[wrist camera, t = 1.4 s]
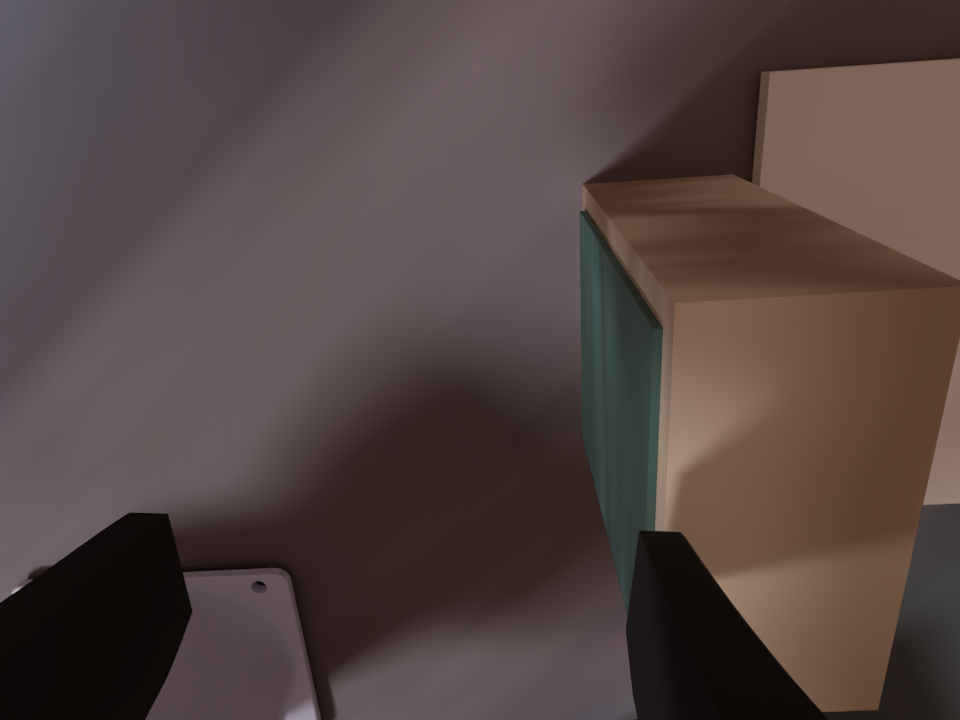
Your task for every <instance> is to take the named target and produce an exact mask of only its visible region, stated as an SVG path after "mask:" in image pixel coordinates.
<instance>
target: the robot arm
mask: <svg viewBox="0 0 960 720" xmlns="http://www.w3.org/2000/svg"><path fill="white" fill-rule="evenodd" d="M256 581H260V582H263V583H264V584H265V585H264V586H263V585H259V584H257V583H256ZM626 634H627V644H628V654H629V664H630V673H631V682H632V690H633V698H634V703H635V707H636V712H637V717H638V720H829V719H828V718H827V717H826V716H825V715H824V714H823V713H822V711H821V710H820V709H819V708H818V707H817V706H816V705H815V704H814V702H813V701H812V700H811V699H810V698H809V697H808V696H807V694H806V693H805V692H804V691H803V690H802V689H801V688H800V687H799V685H798V684H797V683H796V682H795V681H794V680H793V679H792V677H791V676H790V675H789V674H788V673H787V671H786V670H785V669H784V668H783V667H782V665H781V664H780V663H779V662H778V661H777V659H776V658H775V657H774V656H773V655H772V653H771V652H770V651H769V650H768V648H767V647H766V646H765V644H764V643H763V642H762V641H761V639H760V638H759V637H758V636H757V634H756V633H755V632H754V631H753V629H752V628H751V627H750V626H749V624H748V623H747V622H746V621H745V619H744V618H743V617H742V615H741V614H740V613H739V611H738V610H737V609H736V607H735V606H734V605H733V603H732V602H731V601H730V599H729V598H728V597H727V595H726V594H725V593H724V591H723V590H722V588H721V587H720V586H719V584H718V583H717V582H716V580H715V579H714V577H713V576H712V575H711V573H710V572H709V570H708V569H707V568H706V566H705V565H704V563H703V562H702V560H701V559H700V557H699V556H698V555H697V553H696V552H695V550H694V549H693V547H692V546H691V544H690V543H689V541H688V540H687V538H686V537H685V536H684V535H683V534H682V533H681V532H669V531H641V530H639V534H638V541H637V549H636V556H635V564H634V572H633V579H632V587H631V595H630V602H629V610H628V617H627V625H626ZM0 720H321V716H320V711H319V707H318V702H317V697H316V693H315V688H314V683H313V679H312V674H311V669H310V665H309V660H308V655H307V651H306V646H305V641H304V637H303V632H302V628H301V623H300V618H299V614H298V609H297V604H296V600H295V595H294V590H293V586H292V581H291V578H290V576H289V574H288V573H287V572H286V571H284V570H282V569H280V568H260V569H239V570H218V571H198V572H183V571H182V567H181V563H180V560H179V556H178V552H177V548H176V544H175V540H174V536H173V532H172V528H171V524H170V520H169V516H168V514H156V513H128V514H127V515H125V516H124V517H122V518H120V519H119V520H117V521H116V522H114V523H113V524H111V525H110V526H108V527H107V528H105V529H104V530H103V531H101V532H100V533H98V534H97V535H95V536H94V537H93V538H91V539H90V540H88V541H87V542H85V543H84V544H83V545H81V546H80V547H78V548H77V549H76V550H74V551H73V552H71V553H70V554H69V555H67V556H66V557H64V558H63V559H62V560H60V561H59V562H57V563H56V564H55V565H53V566H52V567H50V568H49V569H48V570H46V571H45V572H43V573H42V574H41V575H39V576H38V577H36V578H35V579H32V580H24V581H21V582H20V583H18V585H17V586H16V587H15V588H14V589H13V591H12V593H11V596H9V597H8V598H6V599H5V600H4V601H2V602H1V603H0Z"/></svg>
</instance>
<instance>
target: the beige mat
mask: <svg viewBox="0 0 960 720" xmlns="http://www.w3.org/2000/svg"><path fill="white" fill-rule="evenodd" d="M752 183H753V184H755V185H757V186H759V187H761V188H763V189H765V190H768V191H770V192H772V193H774V194H776V195H778V196H780V197H783V198H785V199H787V200H789V201H791V202H793V203H795V204H798V205H800V206H802V207H804V208H806V209H808V210H810V211H813V212H815V213H817V214H819V215H821V216H823V217H825V218H828V219H830V220H832V221H834V222H836V223H838V224H840V225H842V226H845V227H847V228H849V229H851V230H853V231H855V232H857V233H860V234H862V235H864V236H866V237H868V238H870V239H872V240H875V241H877V242H879V243H881V244H883V245H885V246H887V247H890V248H892V249H894V250H896V251H898V252H900V253H902V254H904V255H907V256H909V257H911V258H913V259H915V260H917V261H919V262H922V263H924V264H926V265H928V266H930V267H932V268H934V269H937V270H939V271H941V272H943V273H945V274H947V275H949V276H952V277H954V278H956V279H958V280H960V58H955V59H940V60H926V61H911V62H897V63H883V64H868V65H854V66H839V67H825V68H811V69H796V70H782V71H767V72H761V81H760V92H759V104H758V116H757V127H756V139H755V150H754V162H753V174H752ZM955 503H960V339H959V343H958V348H957V352H956V357H955V361H954V366H953V370H952V375H951V380H950V384H949V389H948V393H947V398H946V402H945V407H944V411H943V416H942V421H941V425H940V430H939V434H938V439H937V443H936V448H935V452H934V457H933V462H932V466H931V471H930V475H929V480H928V484H927V489H926V493H925V498H924V503H923V505H935V504H955Z"/></svg>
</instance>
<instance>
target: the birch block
mask: <svg viewBox="0 0 960 720" xmlns="http://www.w3.org/2000/svg"><path fill="white" fill-rule="evenodd" d="M580 271H581V383H582V438H583V442H584V446H585V450H586V454H587V458H588V462H589V466H590V469H591V473H592V477H593V481H594V485H595V489H596V493H597V497H598V501H599V505H600V509H601V512H602V516H603V520H604V524H605V528H606V532H607V536H608V540H609V544H610V548H611V552H612V556H613V559H614V563H615V567H616V571H617V575H618V579H619V583H620V587H621V591H622V595H623V599H624V602H625V606H626V610H627V614H628V610H629V602H630V595H631V587H632V579H633V572H634V564H635V556H636V549H637V541H638V534H639V530H641V531H669V532H681V533H682V534H683V535H684V536H685V537H686V538H687V540H688V541H689V543H690V544H691V546H692V547H693V549H694V550H695V552H696V553H697V555H698V556H699V557H700V559H701V560H702V562H703V563H704V565H705V566H706V568H707V569H708V570H709V572H710V573H711V575H712V576H713V577H714V579H715V580H716V582H717V583H718V584H719V586H720V587H721V588H722V590H723V591H724V593H725V594H726V595H727V597H728V598H729V599H730V601H731V602H732V603H733V605H734V606H735V607H736V609H737V610H738V611H739V613H740V614H741V615H742V617H743V618H744V619H745V621H746V622H747V623H748V624H749V626H750V627H751V628H752V629H753V631H754V632H755V633H756V634H757V636H758V637H759V638H760V639H761V641H762V642H763V643H764V644H765V646H766V647H767V648H768V650H769V651H770V652H771V653H772V655H773V656H774V657H775V658H776V659H777V661H778V662H779V663H780V664H781V665H782V667H783V668H784V669H785V670H786V671H787V673H788V674H789V675H790V676H791V677H792V679H793V680H794V681H795V682H796V683H797V684H798V685H799V687H800V688H801V689H802V690H803V691H804V692H805V693H806V694H807V696H808V697H809V698H810V699H811V700H812V701H813V702H814V704H815V705H816V706H817V707H818V708H819V709H820V710H821V711H822V712H836V711H861V710H878V708H879V703H880V698H881V694H882V689H883V685H884V680H885V676H886V671H887V667H888V662H889V657H890V653H891V648H892V644H893V639H894V635H895V630H896V626H897V621H898V616H899V612H900V607H901V603H902V598H903V594H904V589H905V585H906V580H907V575H908V571H909V566H910V562H911V557H912V553H913V548H914V544H915V539H916V534H917V530H918V525H919V521H920V516H921V512H922V507H923V503H924V498H925V493H926V489H927V484H928V480H929V475H930V471H931V466H932V462H933V457H934V452H935V448H936V443H937V439H938V434H939V430H940V425H941V421H942V416H943V411H944V407H945V402H946V398H947V393H948V389H949V384H950V380H951V375H952V370H953V366H954V361H955V357H956V352H957V348H958V343H959V339H960V280H958V279H956V278H954V277H952V276H949V275H947V274H945V273H943V272H941V271H939V270H937V269H934V268H932V267H930V266H928V265H926V264H924V263H922V262H919V261H917V260H915V259H913V258H911V257H909V256H907V255H904V254H902V253H900V252H898V251H896V250H894V249H892V248H890V247H887V246H885V245H883V244H881V243H879V242H877V241H875V240H872V239H870V238H868V237H866V236H864V235H862V234H860V233H857V232H855V231H853V230H851V229H849V228H847V227H845V226H842V225H840V224H838V223H836V222H834V221H832V220H830V219H828V218H825V217H823V216H821V215H819V214H817V213H815V212H813V211H810V210H808V209H806V208H804V207H802V206H800V205H798V204H795V203H793V202H791V201H789V200H787V199H785V198H783V197H780V196H778V195H776V194H774V193H772V192H770V191H768V190H765V189H763V188H761V187H759V186H757V185H755V184H753V183H751V182H748V181H746V180H744V179H742V178H740V177H738V176H736V175H733V174H730V175H714V176H699V177H683V178H668V179H652V180H637V181H622V182H606V183H591V184H583V211H580Z"/></svg>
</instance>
